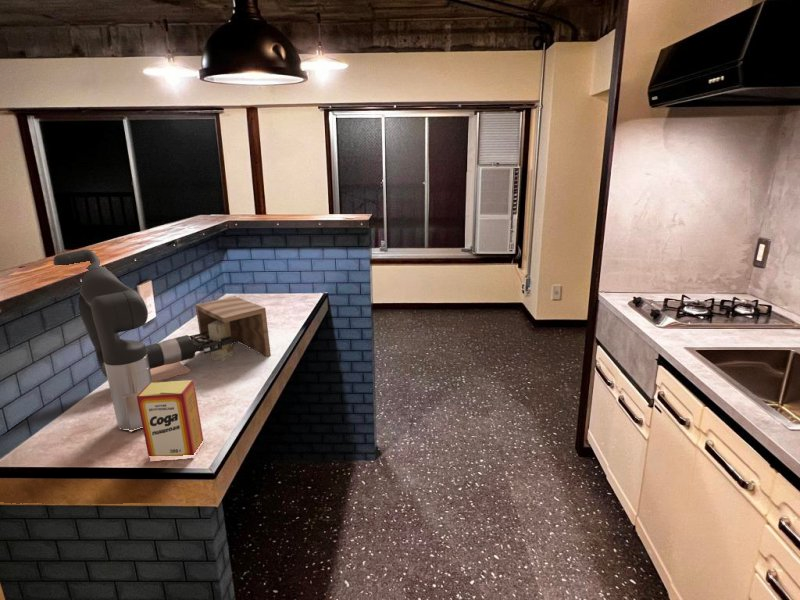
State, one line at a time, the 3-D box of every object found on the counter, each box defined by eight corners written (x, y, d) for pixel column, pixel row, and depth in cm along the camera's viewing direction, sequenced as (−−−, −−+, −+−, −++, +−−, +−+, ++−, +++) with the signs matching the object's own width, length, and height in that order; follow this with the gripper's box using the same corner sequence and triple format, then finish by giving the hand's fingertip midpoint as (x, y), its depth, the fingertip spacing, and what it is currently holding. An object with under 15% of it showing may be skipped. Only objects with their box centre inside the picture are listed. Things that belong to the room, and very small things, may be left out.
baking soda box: (149, 461, 107) (136, 394, 103) (161, 445, 114) (149, 381, 109) (194, 459, 108) (182, 392, 103) (203, 442, 114) (193, 378, 110)
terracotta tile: (189, 371, 154) (189, 369, 153) (148, 384, 146) (148, 381, 146) (175, 361, 162) (175, 359, 162) (136, 372, 154) (135, 370, 154)
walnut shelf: (270, 355, 164) (265, 307, 160) (230, 368, 155) (223, 318, 151) (240, 340, 180) (234, 296, 175) (202, 350, 171) (195, 304, 166)
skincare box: (223, 361, 161) (219, 325, 157) (211, 360, 162) (206, 324, 158) (234, 353, 167) (229, 319, 163) (222, 353, 168) (217, 318, 164)
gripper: (182, 344, 147) (235, 330, 158) (165, 333, 157) (216, 321, 168) (185, 367, 149) (238, 352, 160) (169, 355, 159) (219, 342, 170)
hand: (227, 336), depth 164 cm, fingers closed on skincare box, 7 cm apart
